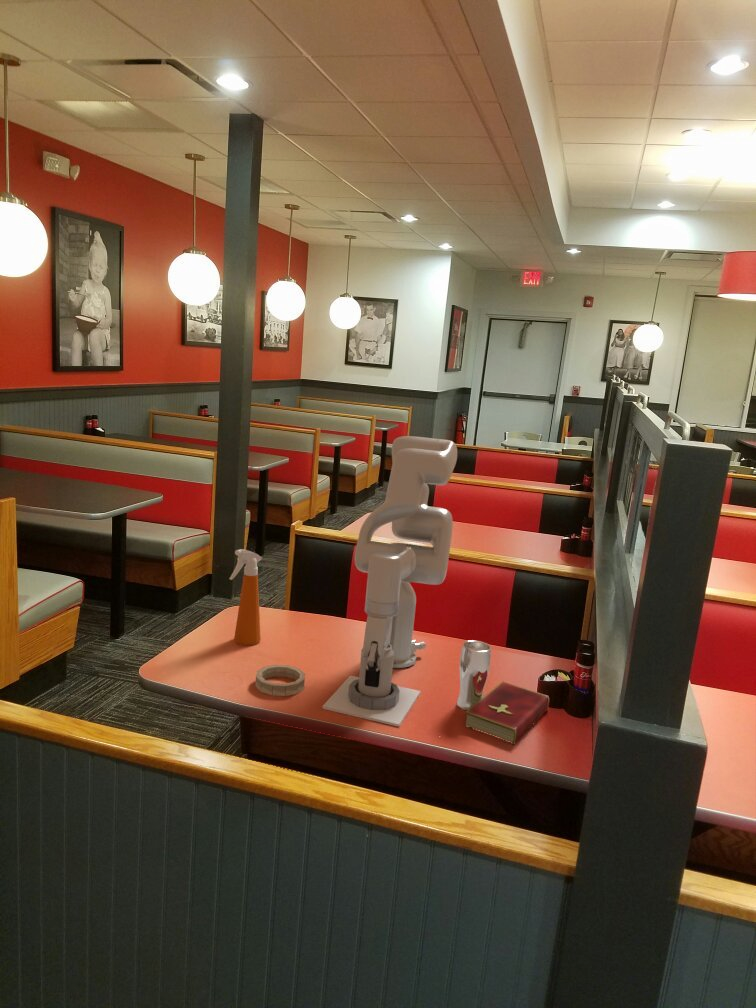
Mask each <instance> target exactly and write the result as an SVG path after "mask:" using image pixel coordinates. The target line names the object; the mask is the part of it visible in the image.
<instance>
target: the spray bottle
mask: <svg viewBox="0 0 756 1008" xmlns="http://www.w3.org/2000/svg"><path fill="white" fill-rule="evenodd" d="M234 554H235V555H236V556H237V558H236V559H237V563H236V565H235V567H234V570H233V572H232V573H231V575H230V577H229V580H231V581H233V579H235V577H237V575H238V574H239V572H240V571H241V569H242V568H243V567H244V571H243V578H242V585H241V593H240V598H239V603H238V612H237V619H236V623H235V624H236V625H235V631H234V638H233V639H234V640H233V641H234V643H236V644H238V645H240V644H241V645H240V646H254V644H255V645H257V644H259V643H261V622H260V620H261V618H260V617H261V616H260V599H259V598H260V596H259V595H260V594H259V575H258V574H259V573H258V572H259V568H258V563H259V562H260V561H262V559H263V557H262V556H261V555H259V554H258V553H256V552H254V551H250V550H247V549H242V548H239V549H236V550H235V551H234ZM244 565H245V566H244Z"/></svg>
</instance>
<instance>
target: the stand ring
mask: <svg viewBox="0 0 756 1008" xmlns="http://www.w3.org/2000/svg"><path fill="white" fill-rule="evenodd" d="M276 677H279V678H280V677H283V678H287V679H293V680H295V681H292V682H287V683H277V682H271V681H268V680H267V679H269V678H270V679H271V678H276ZM305 679H306V673H305V672H304V671H303V670H302V669H301V668H299V667H294V666H291V665H289V664H272V665H267V666H263V667H262V668H260V669H258V670H256V676H255V688H256V689H257V690H258V691H259V692H261V693H263V694H266V695H270V696H276V697H287V696H288V697H289V696H292V695H297V694H299V693H301V692H302V691H303V690H305V684H306V683H305Z"/></svg>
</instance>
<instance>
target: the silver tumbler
mask: <svg viewBox="0 0 756 1008" xmlns="http://www.w3.org/2000/svg"><path fill="white" fill-rule="evenodd" d="M460 651H461V652H460V658H459V683H460V686H459V687H460V688H459V695H458V696H457V697H458V698H457V700H456V706H457V707H458V708H459V707H460V708H459V709H461V710H463V709H464V710H463V711H465V710H468V709H469V708H471V707H472V706H473V705H474V704H475V703H477V702H478V701H479V700H480V699H482V698H483V697H484V696H483V694H484V689H485V685H486V683H487V679H488V676H489V672H490V668H491V659H492V647H491V645H490V644H489V643H487V642H484V641H481V640H473V639H472V640H465V641H464V642H463V643H462V647H461V650H460Z"/></svg>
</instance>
